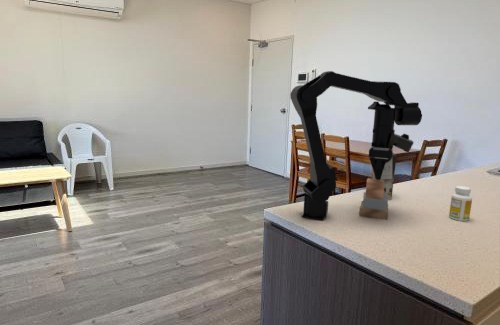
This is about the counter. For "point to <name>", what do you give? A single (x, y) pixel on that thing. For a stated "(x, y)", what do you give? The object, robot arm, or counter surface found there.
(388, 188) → the coffee box
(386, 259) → the counter surface
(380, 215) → the walnut base slab
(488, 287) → the counter surface
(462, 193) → the supplement bottle
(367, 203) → the slate top slab
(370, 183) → the terracotta cube
